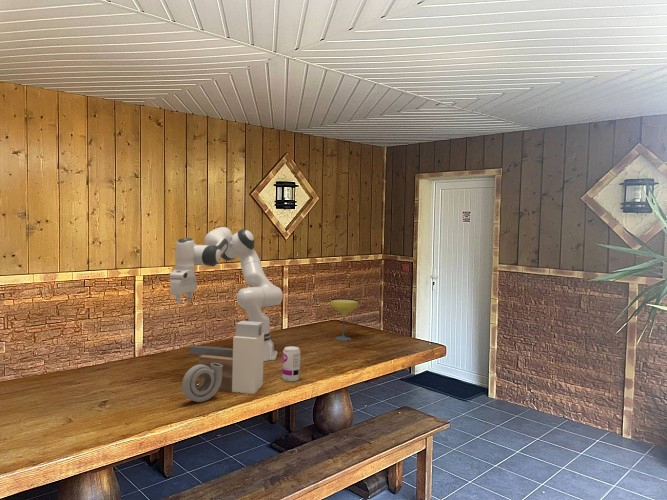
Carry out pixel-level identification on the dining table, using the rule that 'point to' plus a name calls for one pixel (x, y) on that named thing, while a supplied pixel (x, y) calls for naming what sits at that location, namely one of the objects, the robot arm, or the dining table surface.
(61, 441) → the dining table surface
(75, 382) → the dining table surface
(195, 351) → the metal bar
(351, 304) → the cocktail glass
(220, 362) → the step
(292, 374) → the supplement can
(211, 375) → the turbocharger housing
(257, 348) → the stand
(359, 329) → the dining table surface
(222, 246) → the robot arm
